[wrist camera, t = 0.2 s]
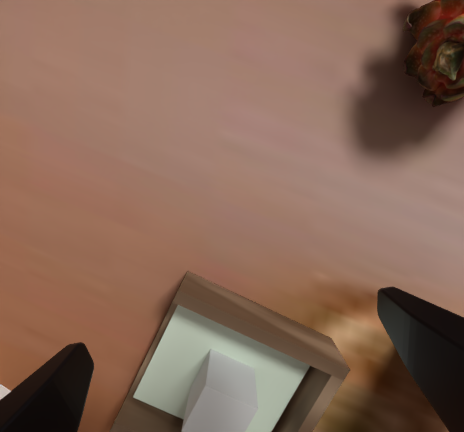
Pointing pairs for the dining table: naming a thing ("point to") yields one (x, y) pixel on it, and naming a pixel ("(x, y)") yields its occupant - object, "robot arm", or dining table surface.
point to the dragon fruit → (437, 50)
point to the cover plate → (191, 355)
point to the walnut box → (262, 330)
